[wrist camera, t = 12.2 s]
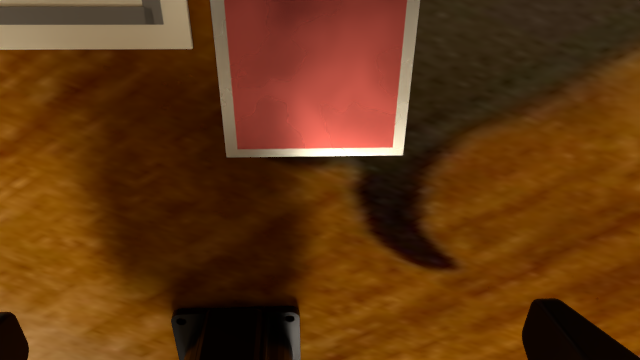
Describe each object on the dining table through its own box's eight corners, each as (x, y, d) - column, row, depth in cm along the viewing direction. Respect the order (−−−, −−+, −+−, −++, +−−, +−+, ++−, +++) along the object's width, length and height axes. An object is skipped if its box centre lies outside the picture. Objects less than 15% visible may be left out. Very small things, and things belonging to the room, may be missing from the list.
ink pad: (397, 141, 20) (404, 158, 19) (230, 143, 20) (225, 160, 19) (423, -108, 16) (434, -108, 14) (204, -110, 15) (196, -110, 14)
